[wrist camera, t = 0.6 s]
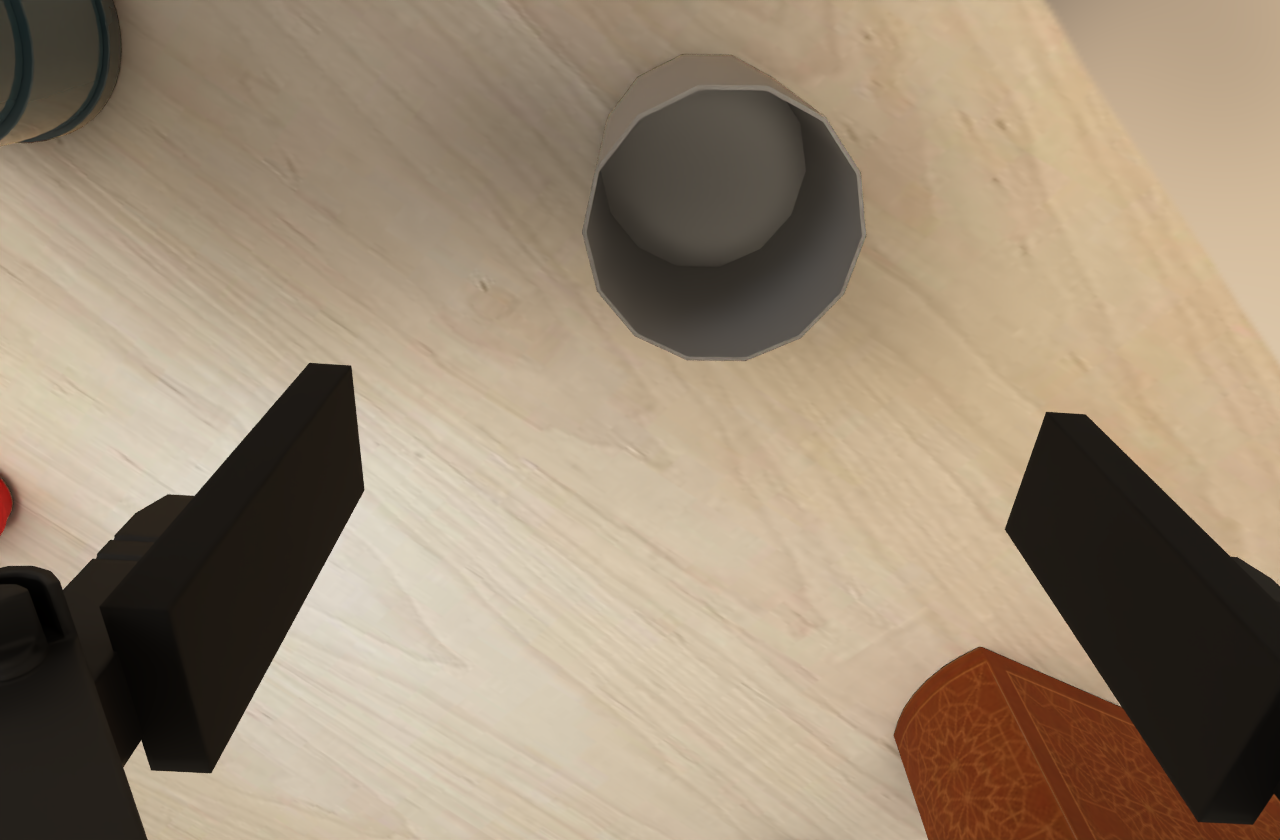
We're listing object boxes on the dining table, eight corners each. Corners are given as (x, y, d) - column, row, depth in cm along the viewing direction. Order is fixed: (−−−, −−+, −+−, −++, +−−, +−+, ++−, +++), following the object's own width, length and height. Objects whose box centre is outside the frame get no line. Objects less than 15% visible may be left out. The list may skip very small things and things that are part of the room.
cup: (817, 56, 31) (888, 87, 22) (795, 265, 35) (847, 362, 26) (596, 53, 31) (578, 82, 22) (598, 263, 35) (584, 358, 26)
